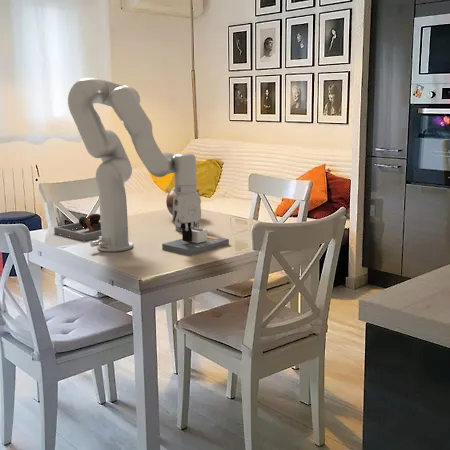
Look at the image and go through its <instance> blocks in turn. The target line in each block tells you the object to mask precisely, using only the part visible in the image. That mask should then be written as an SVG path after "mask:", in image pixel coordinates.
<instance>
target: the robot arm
mask: <svg viewBox="0 0 450 450" xmlns="http://www.w3.org/2000/svg"><path fill="white" fill-rule="evenodd" d="M94 104H100V105H104V106H107V107H111V108H112V109H113V111H114V113H115V114H116V115H117V117H118V118H119V120H120V122H121V123H122V124H123V126H124V128H125V130H126V131H127V133H128V134H129V136H130V138H131V141H132V144H133V146H134V150H135V151H136V154H137V155H138V157H139V158H140V160H141V162H142V164H143V165H144V167H145V168H146V170H147V171H148V173H150V174H151V175H152V176H154V177H155V178H163V177H165V176H167V175H170V174H173V175H174V176H173V177H174V187H175V188H174V187H173V188H174V192H175V194H174V199H173V215H172V220H173V222H174V227H175V228H176V227H180V228H181V230H182V231H181V234H182V238H181V239H182V240H183V241H187V242H189V241H192V230H193V226H194V224H195V223H197V222H198V221H199V222H200V220H201V218H202V205H201V204H200V200H201V197H200V198H199V196H200V193H199V194H198V192H197V190H198V188H197V160H196V156H195V155H194V154H193V153H186V152H185V153H174V152H173V153H172V152H162V150H161V149H160V147H159V146H158V143H157V142H156V140H155V138H154V133H153V124H152V121H151V120H150V118H149V117H148V115H147V114H146V113H147V112H145V110H144V108H143V107H142V106H141V96H140V94H139V92H138V91H137V90H136V89H135V88H134V87H132V86H127V85H123V84H120V83H116V82H112V81H110V80H106V79H102V78H95V77H94V78H93V77H86V78H81V79H79V80H78V81H76V82H74V84H73V85H72V86H71V88H70V90H69V93H68V97H67V105H68V110H69V112H70V114H71V117H72V119H73V122H74V124H75V127H77V131H78V133H79V135H80V137H81V140H82V142H83V144H84V146H85V149H86V151H87V153H88V154H89V155H90V156H91V157H92V158H95V159H101V163H100V164H99V165H98V167H97V169H96V172H95V181H96V186H97V192H98V204H99V214H100V220H99V222H101V236H100V237H99V238H97V240H92V241H91V242H90V243H89V244H90V247H91V248H94V247H97V249H98V250H99V251H101V252H108V253H109V252H110V253H111V252H113V253H114V252H123V251H127V250H130V249H132V248H133V247H134V243H133V242H132V241H129V225H128V205H127V192H126V187H125V183H126V182H128V180H129V179H130V178H132V177H131V176H132V175H133V167H132V164H131V161H130V158H129V156H128V155H127V153H126V151H125V150H126V149H125V148H124V145H123V143H122V141H121V139H120V137H119V136H118V135H117V134H116V132H114V131H113V130H111V129H106V128H105V126H104V124H103V122H102V119H101V117H100V116H99V114H98V112H97V111H96V108H95V107H94Z"/></svg>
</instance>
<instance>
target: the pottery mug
mask: <svg viewBox="0 0 450 450" xmlns="http://www.w3.org/2000/svg"><path fill="white" fill-rule="evenodd" d="M78 222H79V223H80V225H81V226H82V227H84V228H83V229H84V230H85V231H86V230H87V229H88V232H87V233H91V232H95V231H100V230H101V224H100V223H99V222H100V213H91V214H89V215H88V216H87V217H85V216H80V217H79V219H78Z"/></svg>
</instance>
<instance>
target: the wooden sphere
mask: <svg viewBox="0 0 450 450" xmlns="http://www.w3.org/2000/svg"><path fill="white" fill-rule="evenodd" d="M174 188H175V186H174V187H173V188H172V189H170V191H169V193H168V194H167V196H166V199H165V200H166V203H165V204H166V208H167V211H168V212H169V213H170V215H171V216H173V199H174V194H175V192H174ZM199 198H200V205H201V203H202V202H201V196H200V195H199Z"/></svg>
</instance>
